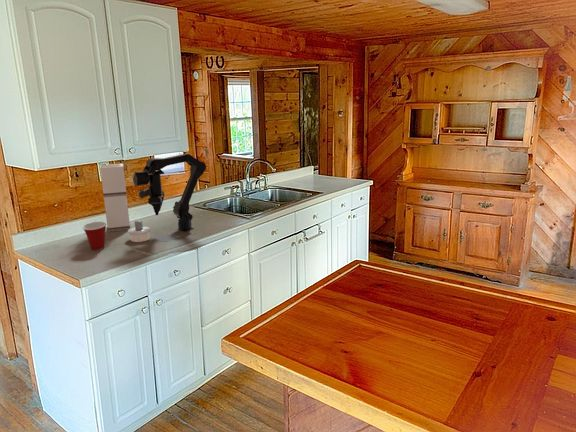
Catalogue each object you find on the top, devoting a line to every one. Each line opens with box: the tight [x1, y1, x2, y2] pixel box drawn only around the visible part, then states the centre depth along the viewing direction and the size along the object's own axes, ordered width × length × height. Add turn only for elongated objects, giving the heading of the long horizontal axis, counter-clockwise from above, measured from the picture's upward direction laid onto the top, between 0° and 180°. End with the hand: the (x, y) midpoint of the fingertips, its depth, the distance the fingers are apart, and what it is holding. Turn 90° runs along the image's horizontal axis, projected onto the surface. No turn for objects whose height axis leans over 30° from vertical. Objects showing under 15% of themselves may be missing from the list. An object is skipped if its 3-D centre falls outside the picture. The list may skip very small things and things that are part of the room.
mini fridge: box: [99, 163, 131, 233], centre depth 242 cm, size 11×11×35 cm
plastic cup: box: [81, 221, 107, 251], centre depth 212 cm, size 11×11×12 cm
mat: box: [149, 232, 182, 243], centre depth 227 cm, size 11×11×1 cm
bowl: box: [129, 232, 150, 243], centre depth 225 cm, size 9×9×4 cm
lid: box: [127, 219, 152, 235], centre depth 224 cm, size 11×11×5 cm
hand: (158, 212), depth 230 cm, fingers open, 9 cm apart
